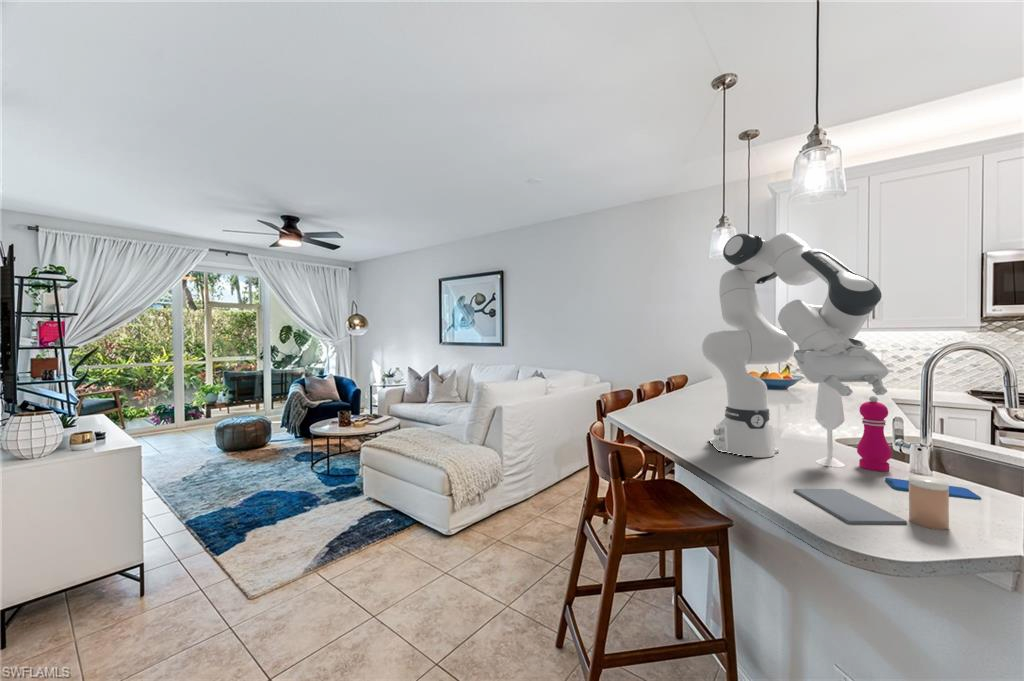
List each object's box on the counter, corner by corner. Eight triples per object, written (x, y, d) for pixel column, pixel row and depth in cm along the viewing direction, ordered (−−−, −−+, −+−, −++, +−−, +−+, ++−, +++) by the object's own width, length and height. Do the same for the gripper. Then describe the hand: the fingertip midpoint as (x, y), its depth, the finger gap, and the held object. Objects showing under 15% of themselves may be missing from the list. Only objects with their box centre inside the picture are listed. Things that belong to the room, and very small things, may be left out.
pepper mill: (877, 464, 117) (877, 394, 117) (899, 472, 110) (898, 398, 109) (850, 463, 117) (850, 394, 117) (870, 471, 110) (869, 398, 110)
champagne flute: (851, 465, 115) (850, 381, 115) (832, 468, 114) (831, 382, 114) (827, 459, 122) (827, 378, 122) (809, 461, 120) (808, 379, 120)
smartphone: (983, 498, 91) (894, 486, 98) (983, 503, 91) (894, 490, 98) (966, 487, 97) (883, 477, 104) (966, 491, 97) (883, 480, 104)
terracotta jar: (901, 517, 83) (900, 475, 83) (929, 517, 83) (929, 475, 83) (927, 529, 78) (926, 485, 78) (957, 529, 77) (957, 485, 77)
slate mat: (793, 491, 98) (793, 488, 98) (841, 491, 97) (841, 488, 97) (848, 523, 81) (848, 520, 81) (906, 524, 80) (906, 521, 80)
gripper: (797, 341, 98) (836, 386, 89) (868, 341, 102) (912, 384, 92) (782, 358, 103) (817, 403, 93) (850, 358, 106) (891, 401, 97)
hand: (865, 394), depth 93 cm, fingers open, 8 cm apart
